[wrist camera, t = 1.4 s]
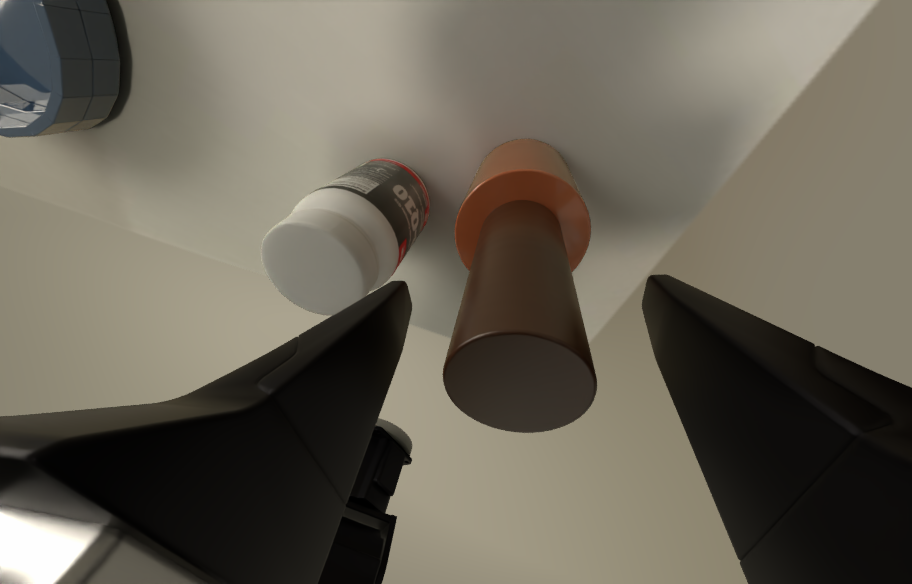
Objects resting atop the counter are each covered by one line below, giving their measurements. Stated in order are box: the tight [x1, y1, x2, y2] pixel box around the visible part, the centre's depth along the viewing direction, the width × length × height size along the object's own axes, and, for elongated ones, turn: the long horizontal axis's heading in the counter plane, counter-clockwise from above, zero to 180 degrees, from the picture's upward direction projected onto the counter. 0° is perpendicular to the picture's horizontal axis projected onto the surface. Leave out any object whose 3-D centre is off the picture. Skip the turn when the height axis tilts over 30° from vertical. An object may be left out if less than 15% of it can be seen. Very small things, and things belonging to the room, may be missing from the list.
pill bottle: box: [261, 158, 430, 316], centre depth 15 cm, size 5×5×8 cm
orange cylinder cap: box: [455, 139, 591, 272], centre depth 14 cm, size 5×5×6 cm
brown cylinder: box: [443, 200, 597, 433], centre depth 9 cm, size 3×3×7 cm
